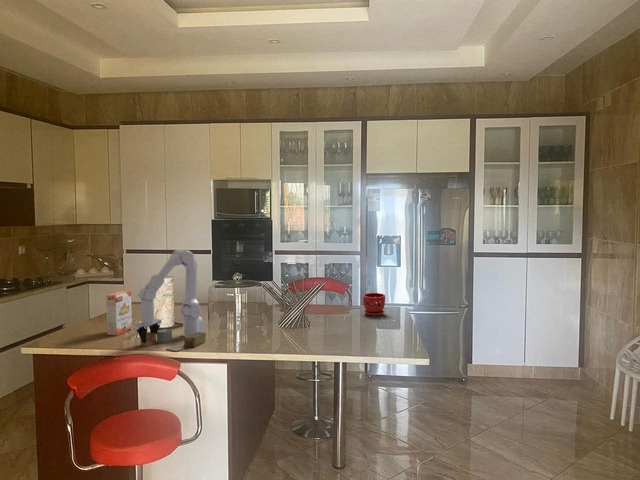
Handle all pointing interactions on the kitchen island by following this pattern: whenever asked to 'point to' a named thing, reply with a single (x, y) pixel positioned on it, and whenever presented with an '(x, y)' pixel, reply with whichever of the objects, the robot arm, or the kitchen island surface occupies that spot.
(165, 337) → the slate grey cube
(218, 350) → the kitchen island surface
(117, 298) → the cracker box
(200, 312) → the robot arm
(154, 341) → the walnut cube
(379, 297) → the plant pot
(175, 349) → the tile
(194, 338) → the stone block
